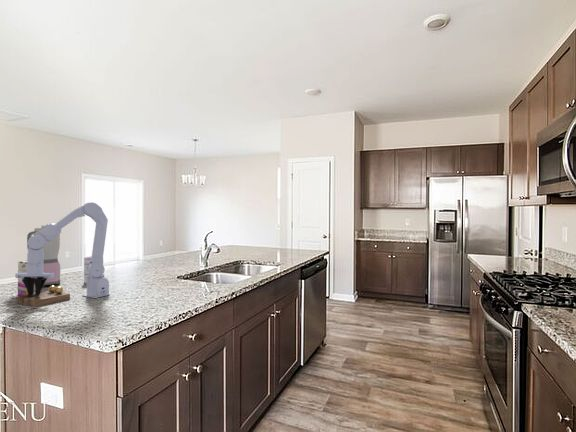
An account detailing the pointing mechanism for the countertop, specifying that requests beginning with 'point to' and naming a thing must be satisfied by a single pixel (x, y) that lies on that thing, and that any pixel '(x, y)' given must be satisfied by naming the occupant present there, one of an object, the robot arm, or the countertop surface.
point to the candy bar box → (21, 286)
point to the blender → (49, 257)
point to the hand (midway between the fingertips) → (34, 294)
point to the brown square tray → (42, 298)
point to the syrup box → (86, 263)
